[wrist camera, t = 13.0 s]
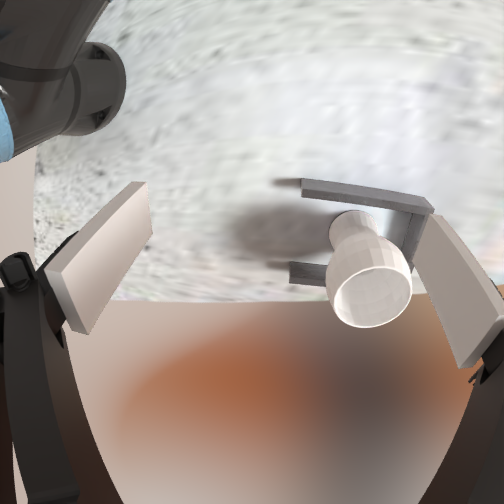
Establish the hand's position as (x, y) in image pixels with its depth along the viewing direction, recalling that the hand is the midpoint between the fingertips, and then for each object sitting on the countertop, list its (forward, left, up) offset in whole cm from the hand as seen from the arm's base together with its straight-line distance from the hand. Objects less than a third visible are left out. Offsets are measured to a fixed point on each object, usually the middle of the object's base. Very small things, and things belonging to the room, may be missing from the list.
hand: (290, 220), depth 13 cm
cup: (+11, -15, -28) cm, 34 cm away
